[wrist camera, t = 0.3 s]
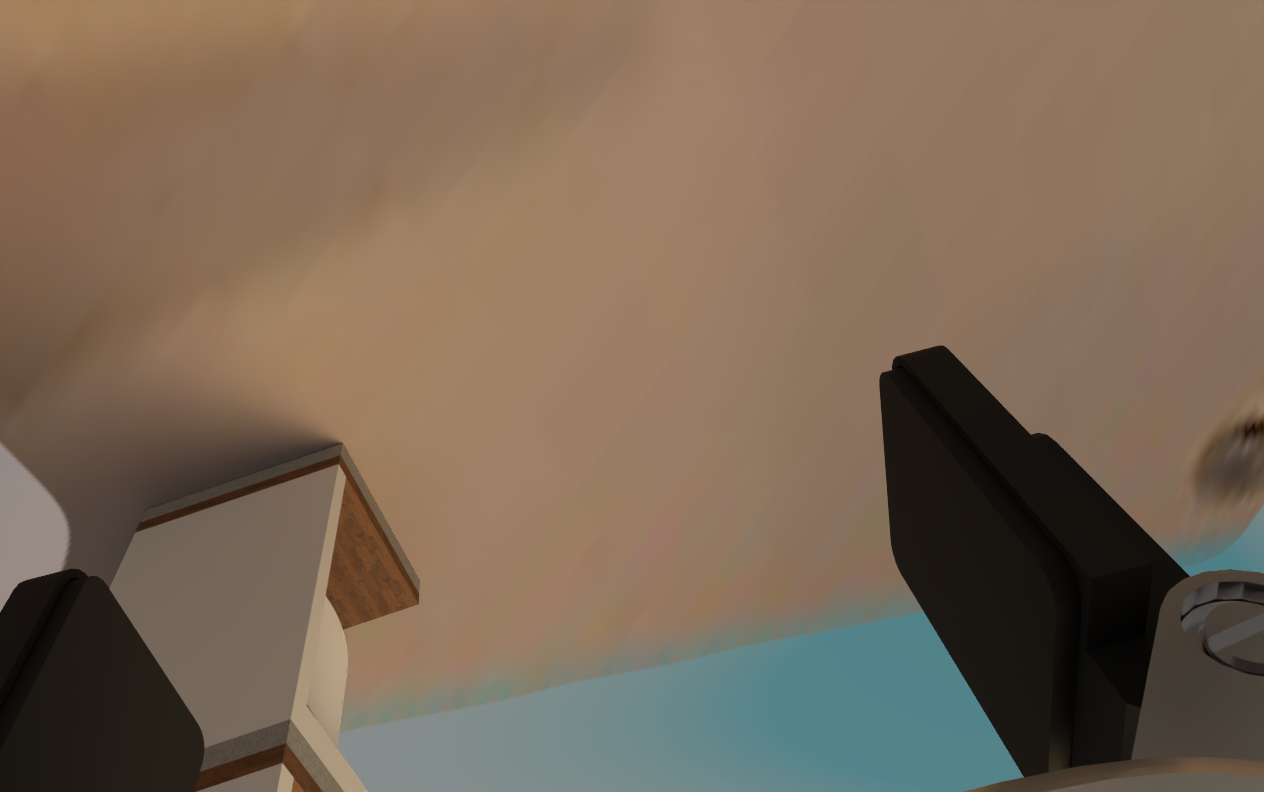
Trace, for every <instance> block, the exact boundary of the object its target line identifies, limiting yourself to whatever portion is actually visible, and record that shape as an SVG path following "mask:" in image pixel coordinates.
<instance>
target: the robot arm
mask: <svg viewBox="0 0 1264 792" xmlns="http://www.w3.org/2000/svg"><path fill="white" fill-rule="evenodd" d="M880 399H881V413H882V426H883V440H884V454H885V468H886V481H887V495H888V509H889V522H890V536H891V546H892V551H893V555H894V558H895V561H896V564H897V566H898V569H899V571H900V573H901V575H902V576H903V578H904V579H905V581H906V583H907V584H908V586H909V588H910V589H911V591H912V593H913V594H914V596H915V598H916V599H917V601H918V603H919V604H920V606H921V608H922V609H923V611H924V613H925V614H926V616H927V617H928V619H929V621H930V622H931V624H932V625H933V627H934V629H935V631H936V632H937V634H938V636H939V637H940V639H941V641H942V642H943V644H944V646H945V647H946V649H947V650H948V652H949V654H950V655H951V657H952V659H953V660H954V662H955V664H956V665H957V667H958V669H959V670H960V672H961V674H962V675H963V677H964V679H965V680H966V682H967V684H968V685H969V687H970V688H971V690H972V692H973V694H974V695H975V697H976V699H977V700H978V702H979V703H980V705H981V707H982V708H983V710H984V712H985V713H986V715H987V717H988V718H989V720H990V722H991V723H992V725H993V727H994V728H995V730H996V732H997V733H998V735H999V737H1000V738H1001V740H1002V741H1003V743H1004V745H1005V747H1006V748H1007V750H1008V751H1009V753H1010V755H1011V756H1012V758H1013V760H1014V761H1015V763H1016V765H1017V766H1018V768H1019V770H1020V771H1021V773H1022V775H1023V776H1024V778H1019V779H1014V780H1010V781H1004V782H1000V783H996V784H992V785H988V786H984V787H980V788H976V789H972V790H968V791H964V792H1264V574H1263V573H1260V572H1251V571H1242V570H1232V569H1230V570H1218V571H1207V572H1203V573H1200V574H1197V575H1194V576H1191V577H1190V576H1189V575H1188V574H1187V573H1186V572H1185V571H1184V570H1183V569H1182V568H1181V567H1180V566H1179V565H1178V564H1177V563H1176V562H1175V561H1174V560H1173V559H1172V558H1171V557H1170V556H1169V555H1168V554H1167V553H1166V552H1165V551H1164V550H1163V549H1162V548H1161V547H1160V546H1159V545H1158V544H1157V543H1156V542H1155V541H1154V540H1153V539H1152V538H1151V537H1150V536H1149V535H1148V534H1147V533H1146V532H1145V531H1144V530H1143V529H1142V528H1141V527H1140V526H1139V525H1138V524H1137V523H1136V522H1135V521H1134V520H1133V519H1132V518H1131V517H1130V516H1129V515H1128V514H1127V513H1126V512H1125V511H1124V510H1123V509H1122V508H1121V507H1120V506H1119V505H1118V504H1117V503H1116V502H1115V501H1114V500H1113V499H1112V498H1111V497H1110V496H1109V495H1108V494H1107V493H1106V492H1105V491H1104V490H1103V489H1102V488H1101V487H1100V485H1099V484H1098V483H1097V482H1096V481H1095V480H1094V479H1093V478H1092V477H1091V476H1090V475H1089V474H1088V473H1087V472H1086V471H1085V470H1084V469H1083V468H1082V467H1081V466H1080V465H1079V464H1078V463H1077V462H1076V461H1075V460H1074V459H1073V458H1072V457H1071V456H1070V455H1069V454H1068V453H1067V452H1066V451H1065V450H1064V449H1063V448H1062V447H1061V446H1060V445H1059V444H1058V443H1057V442H1056V441H1054V440H1053V439H1052V438H1050V437H1049V436H1048V435H1046V434H1041V433H1036V434H1032V435H1030V434H1029V433H1028V431H1027V430H1026V429H1025V428H1024V427H1023V426H1022V425H1021V424H1020V423H1019V422H1018V421H1017V420H1016V419H1015V418H1014V417H1013V416H1012V415H1011V414H1010V413H1009V412H1008V411H1007V410H1006V409H1005V408H1004V407H1003V406H1002V404H1001V403H1000V402H999V401H998V400H997V399H996V398H995V397H994V396H993V395H992V394H991V393H990V392H989V391H988V390H987V389H986V388H985V387H984V386H983V385H982V384H981V383H980V382H979V381H978V380H977V379H976V378H975V376H974V375H973V374H972V373H971V372H970V371H969V370H968V369H967V368H966V367H965V366H964V365H963V364H962V363H961V362H960V361H959V360H958V359H957V358H956V357H955V356H954V355H953V354H952V353H951V352H950V351H949V349H947V348H946V347H945V346H935V347H932V348H928V349H924V350H920V351H916V352H912V353H908V354H904V355H900V356H897V357H895V359H894V360H893V364H892V370H891V371H887V372H883V373H882V374H881V375H880ZM204 747H205V745H204V738H203V734H202V731H201V728H200V726H199V724H198V723H197V721H196V720H195V718H194V717H193V715H192V714H191V712H190V711H189V709H188V708H187V706H186V705H185V703H184V702H183V700H182V698H181V697H180V695H179V694H178V692H177V691H176V689H175V688H174V686H173V685H172V683H171V682H170V680H169V679H168V677H167V676H166V674H165V673H164V671H163V670H162V668H161V667H160V665H159V664H158V662H157V661H156V659H155V657H154V656H153V654H152V653H151V651H150V650H149V648H148V647H147V645H146V644H145V642H144V641H143V639H142V638H141V636H140V635H139V633H138V632H137V630H136V629H135V627H134V626H133V624H132V623H131V621H130V620H129V618H128V616H127V615H126V613H125V612H124V610H123V609H122V607H121V606H120V604H119V603H118V601H117V600H116V598H115V597H114V595H113V594H112V592H111V591H110V589H109V588H108V586H107V585H106V584H105V582H104V581H103V580H102V579H100V578H99V577H96V576H91V577H88V576H87V575H86V574H85V573H84V572H82V571H81V570H79V569H68V570H64V571H60V572H57V573H53V574H49V575H45V576H41V577H37V578H33V579H29V580H26V581H23V582H21V583H19V584H18V586H17V587H16V588H15V589H14V590H13V592H12V594H11V595H10V597H9V599H8V600H7V602H6V604H5V606H4V607H3V609H2V610H1V612H0V792H194V791H195V788H196V784H197V780H198V777H199V773H200V770H201V766H202V762H203V758H204Z"/></svg>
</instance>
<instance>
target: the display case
mask: <svg viewBox="0 0 1264 792" xmlns="http://www.w3.org/2000/svg"><path fill="white" fill-rule="evenodd" d="M419 587H420V580H419V579H418V577H417V575H416V573H415V571H414V570H413V568H412V566H411V564H410V562H409V561H408V559H407V557H406V555H405V554H404V552H403V550H402V548H401V546H400V545H399V543H398V541H397V539H396V537H395V536H394V534H393V532H392V530H391V528H390V527H389V525H388V523H387V521H386V520H385V518H384V516H383V514H382V512H381V511H380V509H379V507H378V505H377V503H376V502H375V500H374V498H373V496H372V494H371V493H370V491H369V489H368V487H367V486H366V484H365V482H364V480H363V478H362V477H361V475H360V473H359V471H358V469H357V468H356V466H355V464H354V462H353V460H352V459H351V457H350V455H349V453H348V452H347V450H346V448H345V446H344V444H343V443H342V444H339V445H336V446H333V447H330V448H327V449H324V450H321V451H318V452H315V453H312V454H309V455H306V456H303V457H300V458H297V459H294V460H291V461H288V462H285V463H282V464H279V465H277V466H274V467H271V468H268V469H265V470H262V471H259V472H256V473H253V474H250V475H247V476H244V477H241V478H238V479H235V480H232V481H229V482H226V483H223V484H220V485H217V486H214V487H211V488H208V489H206V490H203V491H200V492H197V493H194V494H191V495H188V496H185V497H182V498H179V499H176V500H173V501H170V502H167V503H164V504H161V505H158V506H155V507H152V508H149V509H146V510H145V513H144V515H143V517H142V519H141V521H140V523H139V525H138V528H137V530H136V532H135V534H134V536H133V538H132V541H131V543H130V545H129V547H128V549H127V551H126V554H125V556H124V558H123V560H122V562H121V564H120V566H119V569H118V571H117V573H116V575H115V577H114V579H113V582H112V584H111V586H110V588H109V589H110V591H111V592H112V594H113V595H114V597H115V598H116V600H117V601H118V603H119V604H120V606H121V607H122V609H123V610H124V612H125V613H126V615H127V616H128V618H129V620H130V621H131V623H132V624H133V626H134V627H135V629H136V630H137V632H138V633H139V635H140V636H141V638H142V639H143V641H144V642H145V644H146V645H147V647H148V648H149V650H150V651H151V653H152V654H153V656H154V657H155V659H156V661H157V662H158V664H159V665H160V667H161V668H162V670H163V671H164V673H165V674H166V676H167V677H168V679H169V680H170V682H171V683H172V685H173V686H174V688H175V689H176V691H177V692H178V694H179V695H180V697H181V698H182V700H183V702H184V703H185V705H186V706H187V708H188V709H189V711H190V712H191V714H192V715H193V717H194V718H195V720H196V721H197V723H198V724H199V726H200V728H201V731H202V734H203V738H204V745H205V747H204V758H203V762H202V766H201V770H200V773H199V777H198V780H197V784H196V788H195V791H194V792H368V791H367V790H366V788H365V787H364V785H363V784H362V783H361V782H360V780H359V778H358V777H357V776H356V774H355V773H354V772H353V770H352V769H351V767H350V766H349V765H348V763H347V762H346V760H345V759H344V758H343V756H342V755H341V754H340V752H339V751H338V749H337V746H338V739H339V731H340V723H341V716H342V708H343V701H344V693H345V685H346V678H347V668H348V654H347V645H346V640H345V635H344V632H343V629H346V628H349V627H352V626H355V625H358V624H361V623H364V622H367V621H370V620H373V619H376V618H379V617H382V616H385V615H388V614H391V613H394V612H397V611H400V610H402V609H405V608H408V607H411V606H414V605H417V604H419Z"/></svg>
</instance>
